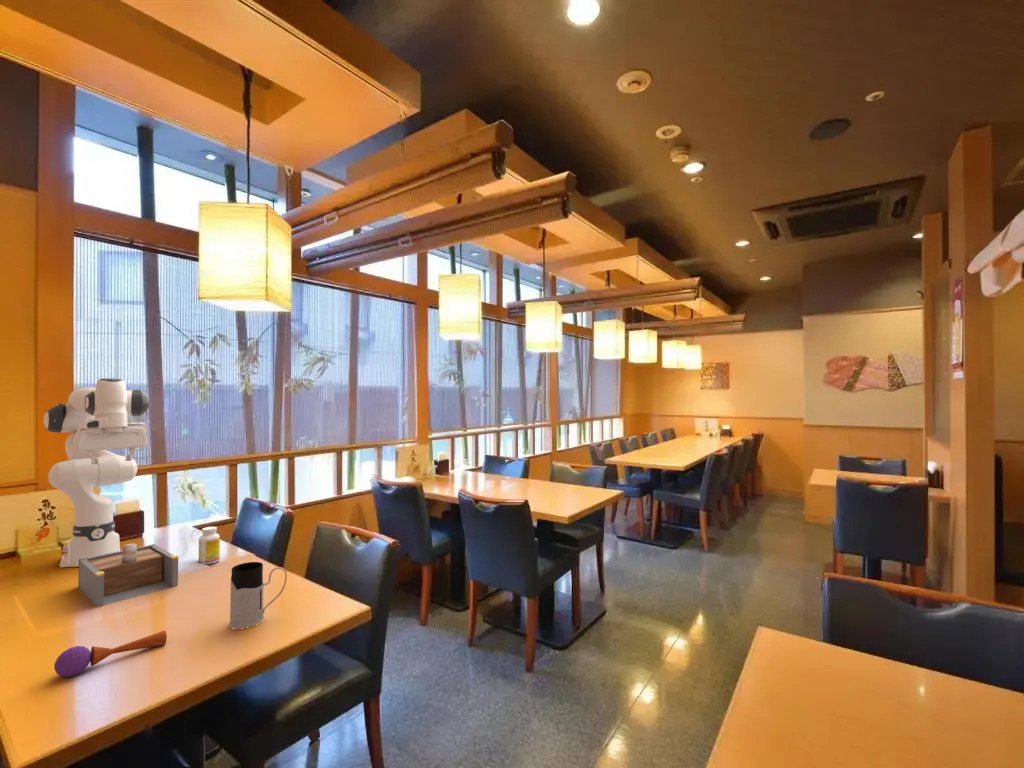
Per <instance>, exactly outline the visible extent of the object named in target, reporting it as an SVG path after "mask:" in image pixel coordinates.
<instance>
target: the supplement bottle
mask: <svg viewBox="0 0 1024 768" xmlns="http://www.w3.org/2000/svg"><path fill="white" fill-rule="evenodd" d="M217 529H218V527H217V526H207V527H204V528H202V529H201V533H202V534H201V535H200V536H199V537H198V562H199V563H201V564H203V565H205V564H211V563H214V562H217V561H218V562H220V553H221V552H220V547H221V544H220V542H221V541H220V538H221V537H220V534H219V533H217ZM218 562H217V563H218ZM214 564H215V563H214ZM211 565H212V564H211Z"/></svg>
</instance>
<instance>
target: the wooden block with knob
mask: <svg viewBox="0 0 1024 768" xmlns="http://www.w3.org/2000/svg"><path fill="white" fill-rule="evenodd" d="M121 548H122V549H121V551H122V554H119V555H114V556H109V557H104V558H99V559H95V560H90V561H89V562H90V563H91V564H92V565H94V566H95V567H96V568H97V569H98V570H99V571H100V572H101V571H103V572H104V596H105V595H108V594H112V593H116V592H120V591H124V590H128V589H132V588H136V587H140V586H144V585H148V584H152V583H156V582H160V581H162V556H161V555H159V554H158V553H156V552H154V551H153V550H151V549H149V548H148V549H143V550H138V551H137V548H138V545H137V543H128V544H123V545H122V547H121Z"/></svg>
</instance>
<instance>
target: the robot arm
mask: <svg viewBox="0 0 1024 768" xmlns="http://www.w3.org/2000/svg"><path fill="white" fill-rule="evenodd" d="M95 385H96V386H95V387H93V386H84V387H83V386H82V387H79V388H76V389H75V390H73V391H72V392H71V393H70V394H69V396H68V399H67V403H63V404H62V402H60V403H57V404H58V405H55V406H52V407H50V408H49V409H48V410H46V412H45V414H44V416H43V425H44V427H45V428H46V431H48V432H51V433H57V434H60V433H71V434H69V435H68V436H67V438H66V440H65V445H64V446H65V453H66V457H67V458H68V460H64V461H60V462H56V463H55V464H54V465H53V466H52V467H51V468H50V470H49V472H48V474H47V475H48V483H49V484H50V485H51V486H52V487H53V488H54V489H57V490H59V491H61V492H62V493H64V494H65V495H67V496H68V498H69V499H70V500H71V502H72V505H73V512H74V525H73V526H72V527H73V528H72V530H71V531H72V537H71V539H70V540H69V542H68V543H67V544H66V545H63V546H62V547H63V549H62V552H63V553H64V554H63V555H62V556H61V559H60V563H59V568H68V567H69V568H71V567H72V568H73V567H75V568H76V567H78V568H79V559H83V558H88V557H93V556H98V555H103V554H108V553H113V552H118V551H122V549H120V543H121V542H120V534H119V533H118V532H116V531H115V529H116V528H115V526H116V523H115V520H114V502H113V500H112V498H110V497H108V496H105V495H102V494H99V493H95V492H94V488H96V487H103V486H105V487H106V486H112V485H119V484H124V483H127V482H129V481H132V480H133V479H134V478H135V477H136V475H137V472H138V463H137V461H136V460H135V459H134V458H133V455H134V454H135V453H136V450H137V448H145V447H146V446H147V445H148V443H149V442H148V436H147V432H148V427H147V426H148V425H147V424H145V423H143V422H128V421H129V420H128V416H129V417H130V416H133V417H141V416H142V415H144V414H145V413H146V412H147V411H148V410H149V407H150V398H149V395H148V394H147V393H146V392H144V390H142V389H133V390H131V389H127V388H126V387H127V386H126V381H125V380H124V379H122V378H99V379H98V380H96V384H95ZM118 449H119V450H122V449H124V450H125V449H128V451H129V454H128V455H127V456H126V455H121V454H120V455H119V454H117V453H115V452H112V451H108V450H118Z"/></svg>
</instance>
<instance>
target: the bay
mask: <svg viewBox="0 0 1024 768" xmlns="http://www.w3.org/2000/svg"><path fill="white" fill-rule="evenodd" d="M148 548H149V549H151V550H153V551H154V552H156V553H158V554H159V555H161V556H162V581H160V582H156V583H152V584H148V585H144V586H140V587H136V588H132V589H128V590H124V591H120V592H116V593H112V594H108V595H105V596H104V572H103V571H101V572H100V571H99V570H98V569H97V568H96V567H95V566H94V565H92V564H91V563H90V562H89V561H90V560H95V559H99V558H104V557H109V556H114V555H119V554H122V550H121V551H118V552H113V553H108V554H103V555H98V556H93V557H88V558H83V559H79V567H78V579H77V581H78V584H77V585H78V586H77V587H78V589H79V590H80V591H81V592H82V593H83V595H84V596H85V597H87V599H88V600H89V601H90V602H91V603H92V604H93V605H94V606H95V607H96V608H99V607H100V608H101V607H103V606H107V605H111V604H115V603H118V602H122V601H126V600H129V599H133V598H136V597H140V596H144V595H148V594H152V593H155V592H159V591H163V590H167V589H171V588H174V587H177V586H179V582H178V581H179V555H177V554H173V553H170V552H169V551H167V550H166V549H163V548H162V547H160V546H159V545H157V544H149V545H143V546H137V551H138V550H143V549H148Z"/></svg>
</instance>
